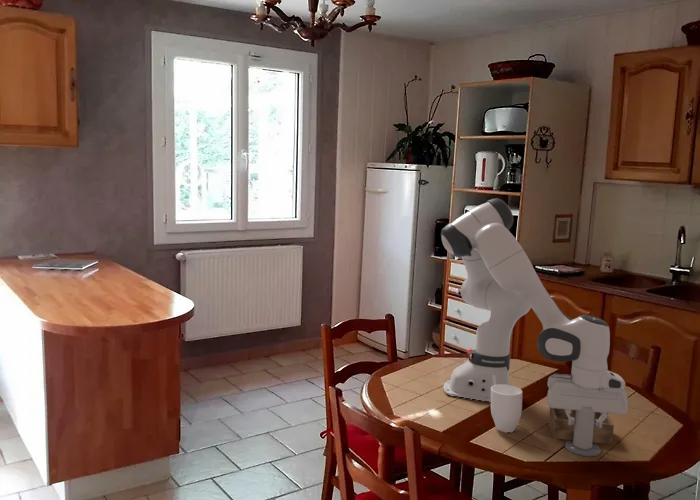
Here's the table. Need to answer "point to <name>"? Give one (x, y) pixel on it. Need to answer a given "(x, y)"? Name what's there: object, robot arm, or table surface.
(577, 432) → the beverage can
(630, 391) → the table surface
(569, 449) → the slate coaster
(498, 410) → the mug
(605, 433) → the box
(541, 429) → the table surface
